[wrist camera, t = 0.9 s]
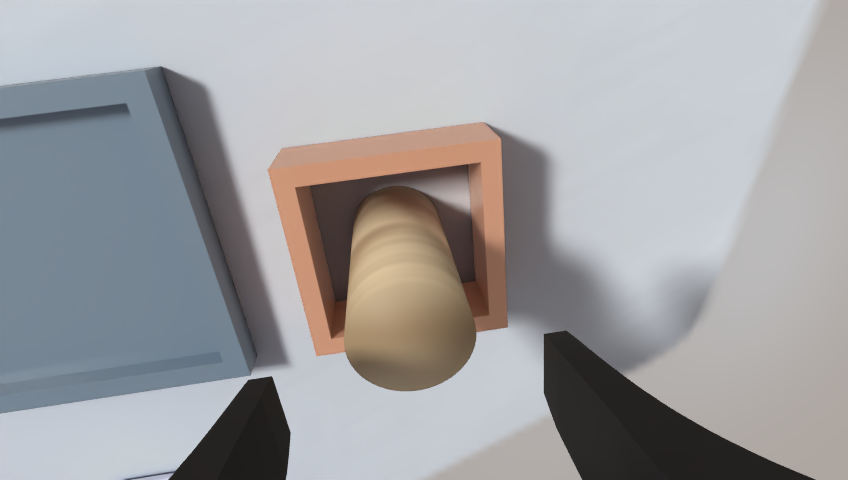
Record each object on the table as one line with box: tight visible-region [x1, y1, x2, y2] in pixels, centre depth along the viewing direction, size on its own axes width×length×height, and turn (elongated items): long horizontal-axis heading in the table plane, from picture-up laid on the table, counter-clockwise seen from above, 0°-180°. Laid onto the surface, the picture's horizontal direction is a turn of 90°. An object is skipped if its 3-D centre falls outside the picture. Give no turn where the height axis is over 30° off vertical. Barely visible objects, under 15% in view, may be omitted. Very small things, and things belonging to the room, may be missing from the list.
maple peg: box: [344, 186, 476, 391], centre depth 18 cm, size 4×4×8 cm
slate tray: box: [0, 67, 257, 413], centre depth 20 cm, size 14×14×2 cm
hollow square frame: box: [268, 122, 508, 356], centre depth 20 cm, size 9×9×3 cm
